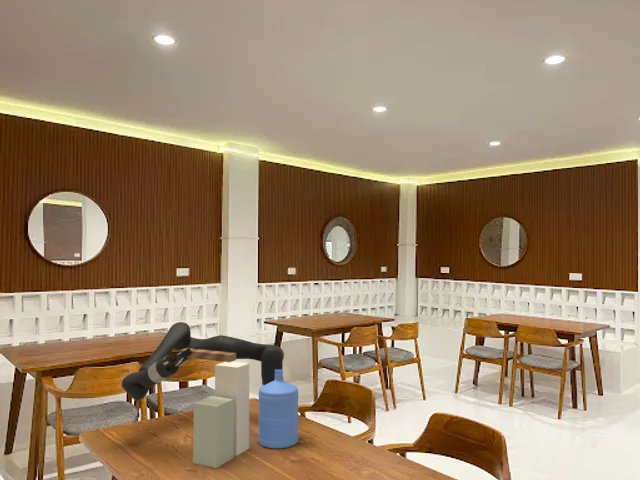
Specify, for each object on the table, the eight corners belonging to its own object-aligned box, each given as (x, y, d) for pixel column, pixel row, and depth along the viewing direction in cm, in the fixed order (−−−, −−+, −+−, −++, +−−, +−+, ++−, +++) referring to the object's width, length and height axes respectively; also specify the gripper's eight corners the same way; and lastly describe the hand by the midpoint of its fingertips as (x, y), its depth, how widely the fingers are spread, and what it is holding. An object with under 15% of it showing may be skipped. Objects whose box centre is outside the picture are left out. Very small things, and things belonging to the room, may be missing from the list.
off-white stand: (214, 451, 191) (215, 365, 191) (227, 444, 198) (227, 361, 199) (236, 455, 186) (237, 367, 187) (249, 448, 193) (249, 363, 194)
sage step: (193, 463, 180) (193, 402, 180) (211, 453, 189) (211, 395, 189) (216, 468, 175) (216, 406, 176) (233, 457, 184) (233, 399, 185)
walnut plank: (180, 356, 187) (180, 349, 187) (187, 354, 191) (187, 348, 191) (229, 362, 178) (229, 355, 178) (235, 360, 181) (236, 353, 181)
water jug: (292, 450, 191) (292, 375, 192) (252, 447, 194) (253, 373, 195) (302, 436, 206) (302, 366, 207) (265, 433, 210) (265, 364, 210)
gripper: (145, 363, 188) (177, 343, 182) (172, 356, 201) (202, 337, 194) (153, 382, 186) (185, 362, 180) (179, 374, 199) (210, 355, 193)
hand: (194, 349), depth 187 cm, fingers closed on walnut plank, 4 cm apart
